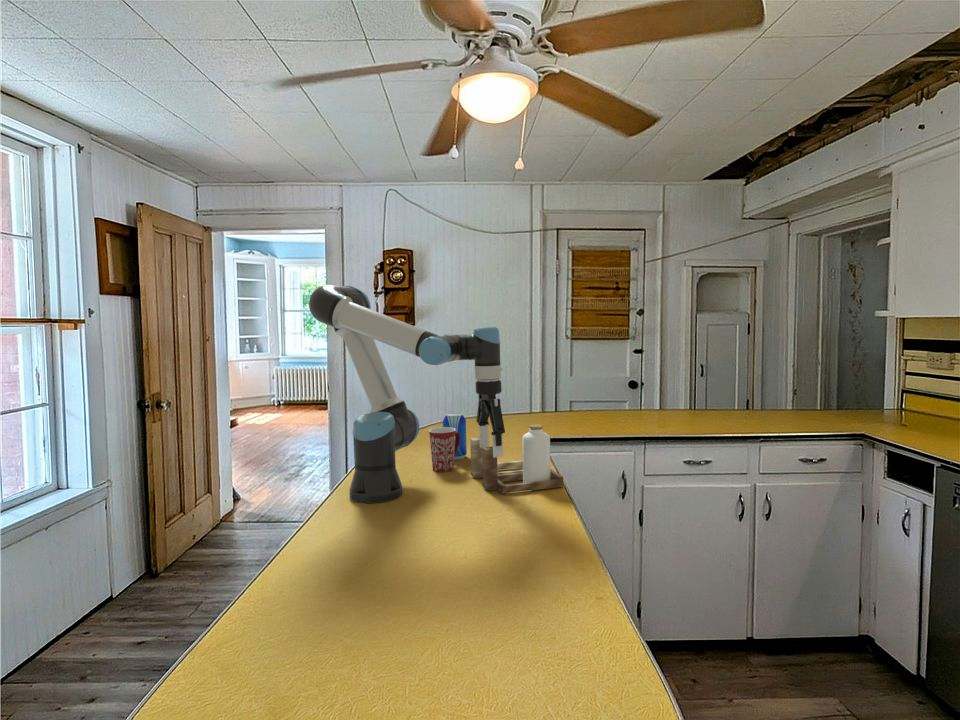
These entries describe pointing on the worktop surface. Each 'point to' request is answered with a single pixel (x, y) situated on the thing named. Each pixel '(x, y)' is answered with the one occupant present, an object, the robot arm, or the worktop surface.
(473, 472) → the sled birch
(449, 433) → the mug
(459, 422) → the beer can
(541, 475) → the potion bottle
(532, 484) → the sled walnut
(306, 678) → the worktop surface
